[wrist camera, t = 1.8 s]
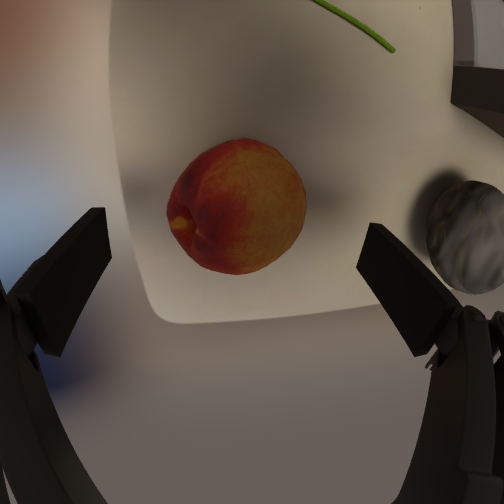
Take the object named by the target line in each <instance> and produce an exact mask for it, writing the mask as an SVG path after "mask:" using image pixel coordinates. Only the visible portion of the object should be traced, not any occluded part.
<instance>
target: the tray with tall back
mask: <svg viewBox="0 0 504 504" xmlns="http://www.w3.org/2000/svg"><path fill="white" fill-rule="evenodd" d="M452 3H453V15H454V73H453V86H452V96H451V103H452V104H454V105H455V106H457V107H459V108H460V109H462V110H464V111H465V112H467V113H469V114H470V115H472V116H473V117H475V118H477V119H478V120H480V121H481V122H483V123H484V124H486V125H487V126H488V127H490V128H491V129H493V130H494V131H495V132H497V133H498V134H500V135H501V136H502V137H504V0H452Z"/></svg>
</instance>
